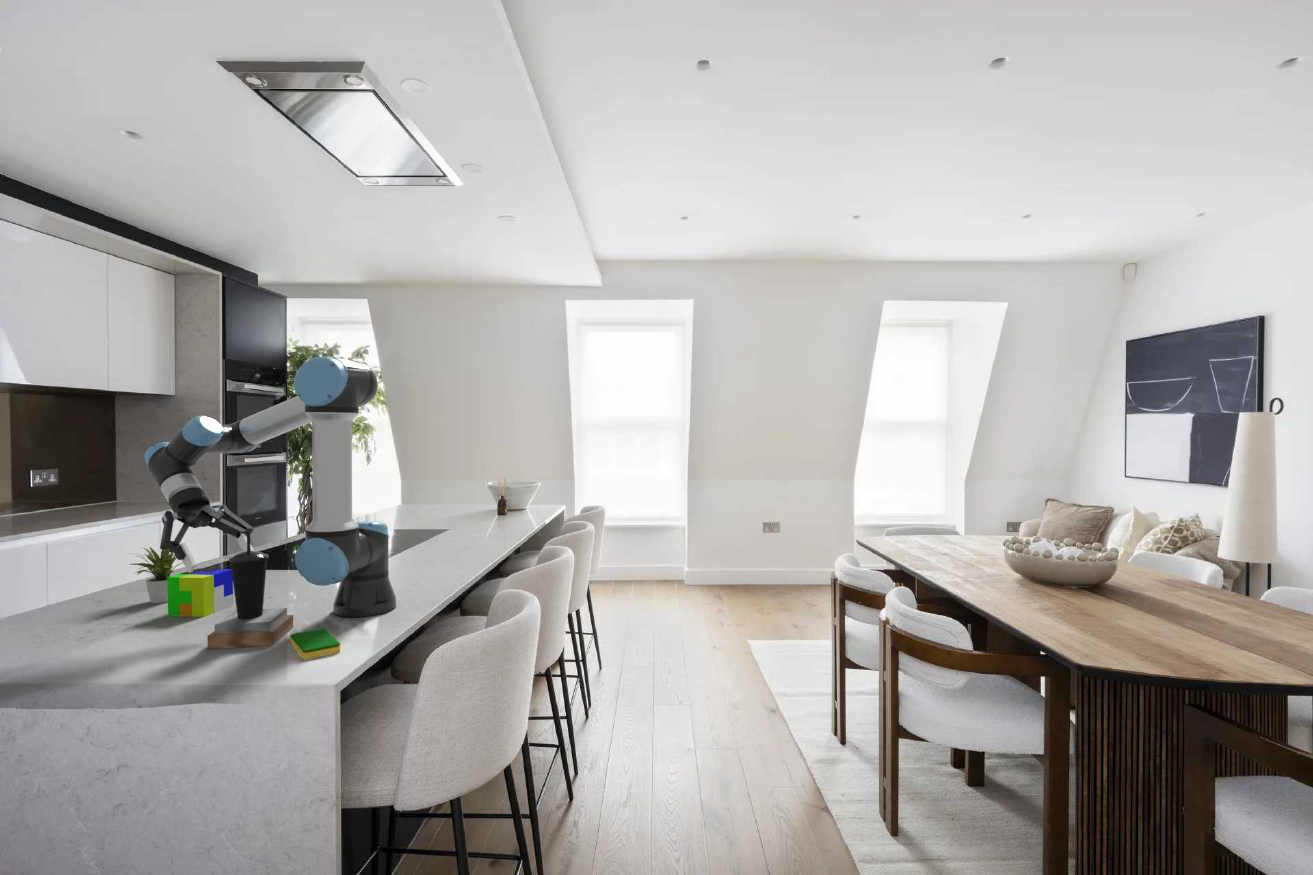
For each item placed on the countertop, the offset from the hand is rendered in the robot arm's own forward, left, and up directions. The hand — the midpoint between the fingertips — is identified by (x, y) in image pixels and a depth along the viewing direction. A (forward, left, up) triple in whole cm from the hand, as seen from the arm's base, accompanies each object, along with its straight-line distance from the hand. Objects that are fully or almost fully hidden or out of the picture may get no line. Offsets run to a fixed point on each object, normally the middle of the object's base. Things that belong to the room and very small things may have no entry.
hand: (224, 562), depth 155 cm
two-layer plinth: (-8, +6, -16) cm, 19 cm away
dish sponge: (-24, +16, -17) cm, 34 cm away
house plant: (+30, -35, -16) cm, 49 cm away
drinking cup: (-8, +6, -11) cm, 15 cm away
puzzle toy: (+14, -21, -17) cm, 30 cm away
